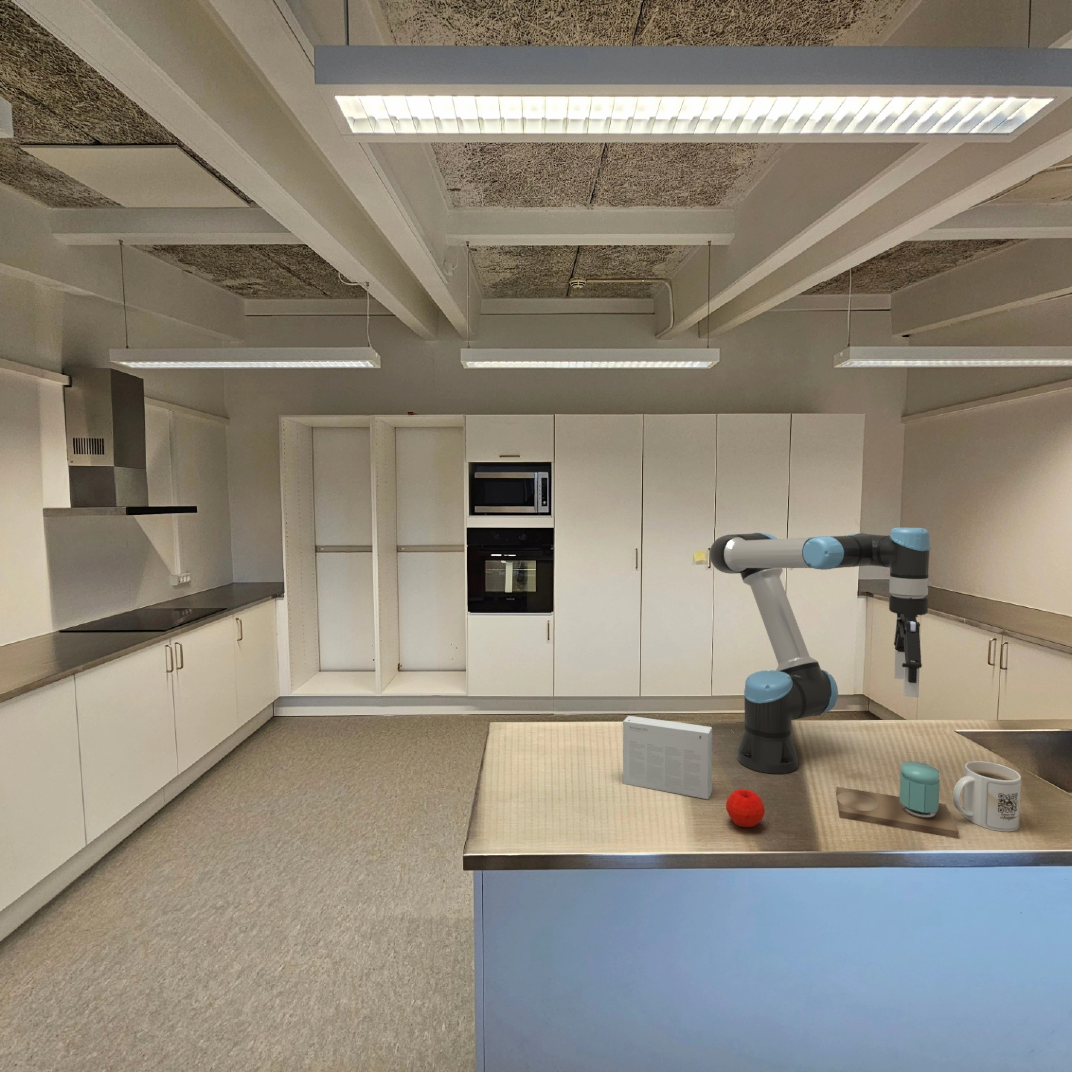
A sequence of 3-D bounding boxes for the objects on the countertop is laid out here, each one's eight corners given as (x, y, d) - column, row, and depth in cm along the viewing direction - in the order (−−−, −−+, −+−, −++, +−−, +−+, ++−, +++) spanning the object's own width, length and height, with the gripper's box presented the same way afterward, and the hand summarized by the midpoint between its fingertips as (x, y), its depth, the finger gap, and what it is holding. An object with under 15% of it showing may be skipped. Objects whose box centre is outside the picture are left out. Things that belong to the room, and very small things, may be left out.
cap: (903, 793, 138) (904, 758, 137) (940, 802, 133) (941, 767, 133) (897, 805, 132) (898, 769, 132) (936, 815, 128) (937, 779, 127)
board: (838, 817, 134) (838, 810, 134) (835, 792, 145) (835, 786, 145) (958, 838, 125) (958, 831, 125) (945, 810, 136) (945, 803, 136)
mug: (1022, 838, 125) (1024, 786, 124) (952, 822, 131) (953, 773, 131) (1015, 815, 134) (1017, 766, 133) (949, 801, 140) (951, 755, 139)
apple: (743, 838, 126) (743, 804, 126) (717, 820, 133) (717, 787, 133) (772, 829, 129) (772, 796, 129) (745, 812, 137) (746, 780, 136)
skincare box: (712, 790, 147) (713, 726, 146) (709, 800, 142) (709, 734, 141) (628, 774, 156) (628, 714, 155) (622, 783, 151) (621, 721, 150)
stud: (905, 815, 131) (906, 780, 131) (901, 802, 137) (902, 769, 136) (938, 821, 129) (939, 785, 129) (932, 807, 135) (933, 773, 134)
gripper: (939, 606, 125) (936, 706, 127) (917, 588, 148) (915, 673, 149) (897, 603, 128) (895, 702, 130) (882, 586, 151) (880, 670, 152)
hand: (905, 687), depth 139 cm, fingers open, 13 cm apart
